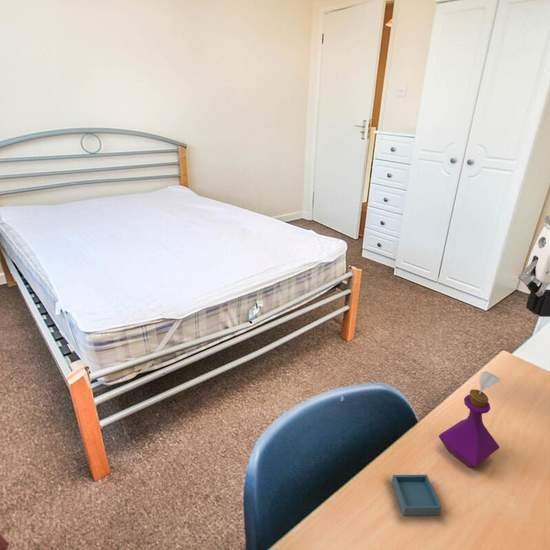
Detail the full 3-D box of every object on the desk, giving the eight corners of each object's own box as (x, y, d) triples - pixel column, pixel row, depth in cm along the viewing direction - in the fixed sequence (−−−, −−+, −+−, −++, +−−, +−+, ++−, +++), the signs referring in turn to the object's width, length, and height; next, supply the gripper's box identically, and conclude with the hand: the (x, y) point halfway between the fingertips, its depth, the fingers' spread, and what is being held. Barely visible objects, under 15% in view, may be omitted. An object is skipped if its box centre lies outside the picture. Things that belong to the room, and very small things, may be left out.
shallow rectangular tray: (424, 481, 65) (426, 474, 64) (439, 515, 60) (441, 507, 59) (391, 482, 65) (393, 474, 64) (403, 515, 60) (405, 508, 59)
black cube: (546, 307, 78) (552, 289, 76) (560, 316, 74) (566, 298, 73) (527, 307, 78) (532, 289, 76) (540, 316, 74) (546, 298, 73)
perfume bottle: (471, 479, 66) (499, 398, 59) (434, 448, 72) (455, 371, 64) (495, 460, 70) (524, 381, 62) (458, 432, 75) (481, 357, 68)
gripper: (543, 227, 65) (514, 321, 72) (637, 228, 66) (599, 320, 73) (516, 216, 72) (492, 302, 79) (601, 217, 73) (570, 302, 80)
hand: (543, 310), depth 76 cm, fingers closed on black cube, 4 cm apart
